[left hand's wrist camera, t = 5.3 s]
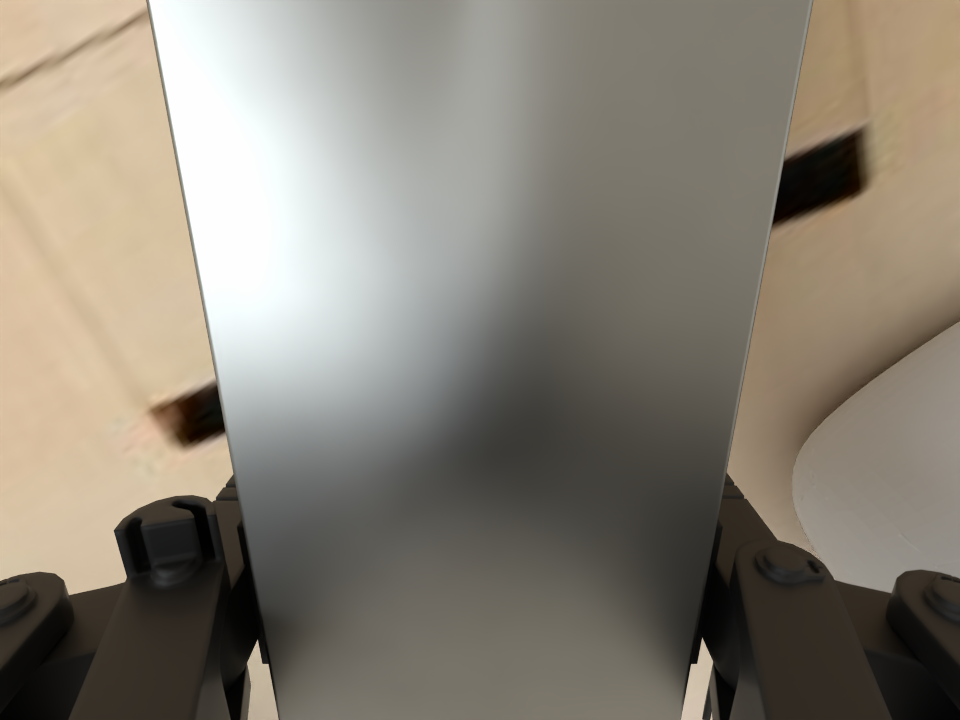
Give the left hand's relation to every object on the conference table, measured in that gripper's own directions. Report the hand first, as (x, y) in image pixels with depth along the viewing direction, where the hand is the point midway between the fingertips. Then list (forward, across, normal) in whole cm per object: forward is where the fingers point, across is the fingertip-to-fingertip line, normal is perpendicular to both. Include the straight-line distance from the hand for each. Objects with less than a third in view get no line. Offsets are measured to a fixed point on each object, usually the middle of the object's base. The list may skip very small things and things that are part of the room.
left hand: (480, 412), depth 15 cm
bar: (+1, 0, -9) cm, 9 cm away
